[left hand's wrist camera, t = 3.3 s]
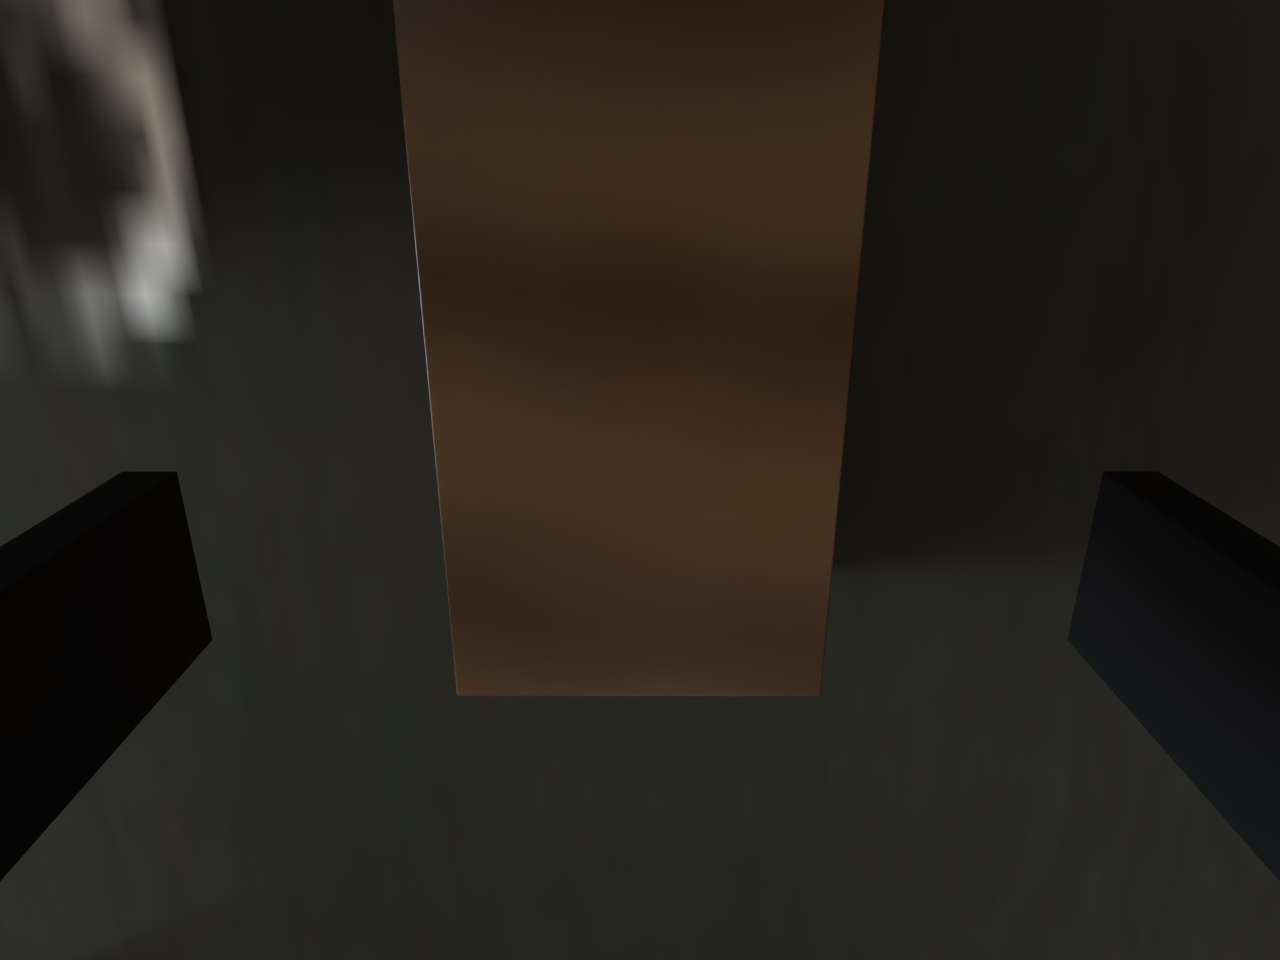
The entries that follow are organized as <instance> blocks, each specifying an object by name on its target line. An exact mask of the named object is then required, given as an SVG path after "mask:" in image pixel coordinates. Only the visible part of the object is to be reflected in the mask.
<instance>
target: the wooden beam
mask: <svg viewBox="0 0 1280 960" xmlns="http://www.w3.org/2000/svg"><path fill="white" fill-rule="evenodd" d="M392 3H393V14H394V24H395V35H396V46H397V56H398V67H399V78H400V89H401V99H402V110H403V121H404V131H405V142H406V153H407V164H408V174H409V185H410V196H411V206H412V217H413V228H414V239H415V249H416V260H417V271H418V281H419V292H420V303H421V314H422V324H423V335H424V346H425V357H426V367H427V378H428V389H429V399H430V410H431V421H432V432H433V442H434V453H435V464H436V474H437V485H438V496H439V507H440V517H441V528H442V539H443V549H444V560H445V571H446V582H447V592H448V603H449V614H450V624H451V635H452V646H453V657H454V667H455V678H456V689H457V695H458V696H820V695H821V686H822V675H823V665H824V654H825V643H826V632H827V621H828V610H829V599H830V589H831V578H832V567H833V556H834V545H835V534H836V523H837V513H838V502H839V491H840V480H841V469H842V458H843V448H844V437H845V426H846V415H847V404H848V393H849V382H850V372H851V361H852V350H853V339H854V328H855V317H856V307H857V296H858V285H859V274H860V263H861V252H862V241H863V231H864V220H865V209H866V198H867V187H868V176H869V165H870V155H871V144H872V133H873V122H874V111H875V100H876V90H877V79H878V68H879V57H880V46H881V35H882V24H883V14H884V3H885V0H392Z"/></svg>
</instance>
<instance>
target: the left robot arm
mask: <svg viewBox="0 0 1280 960" xmlns="http://www.w3.org/2000/svg"><path fill="white" fill-rule="evenodd" d="M211 641H212V636H211V631H210V626H209V622H208V617H207V612H206V608H205V603H204V598H203V593H202V589H201V584H200V579H199V575H198V570H197V565H196V560H195V556H194V551H193V546H192V542H191V537H190V532H189V527H188V523H187V518H186V513H185V509H184V504H183V499H182V494H181V490H180V485H179V480H178V476H177V472H121V473H120V474H118V475H116V476H115V477H113V478H112V479H110V480H108V481H107V482H105V483H103V484H102V485H100V486H99V487H97V488H95V489H94V490H92V491H90V492H89V493H87V494H86V495H84V496H82V497H81V498H79V499H77V500H76V501H74V502H73V503H71V504H69V505H68V506H66V507H64V508H63V509H61V510H60V511H58V512H56V513H55V514H53V515H51V516H50V517H48V518H47V519H45V520H43V521H42V522H40V523H38V524H37V525H35V526H34V527H32V528H30V529H29V530H27V531H25V532H24V533H22V534H21V535H19V536H17V537H16V538H14V539H12V540H11V541H9V542H8V543H6V544H4V545H3V546H1V547H0V881H1V880H2V879H3V878H4V876H5V875H6V874H7V873H8V872H9V871H10V870H11V868H12V867H13V866H14V865H15V864H16V863H17V862H18V860H19V859H20V858H21V857H22V856H23V855H24V854H25V853H26V851H27V850H28V849H29V848H30V847H31V846H32V845H33V843H34V842H35V841H36V840H37V839H38V838H39V837H40V835H41V834H42V833H43V832H44V831H45V830H46V829H47V827H48V826H49V825H50V824H51V823H52V822H53V821H54V820H55V818H56V817H57V816H58V815H59V814H60V813H61V812H62V810H63V809H64V808H65V807H66V806H67V805H68V804H69V802H70V801H71V800H72V799H73V798H74V797H75V796H76V794H77V793H78V792H79V791H80V790H81V789H82V788H83V787H84V785H85V784H86V783H87V782H88V781H89V780H90V779H91V777H92V776H93V775H94V774H95V773H96V772H97V771H98V769H99V768H100V767H101V766H102V765H103V764H104V763H105V761H106V760H107V759H108V758H109V757H110V756H111V755H112V753H113V752H114V751H115V750H116V749H117V748H118V747H119V746H120V744H121V743H122V742H123V741H124V740H125V739H126V738H127V736H128V735H129V734H130V733H131V732H132V731H133V730H134V728H135V727H136V726H137V725H138V724H139V723H140V722H141V720H142V719H143V718H144V717H145V716H146V715H147V714H148V713H149V711H150V710H151V709H152V708H153V707H154V706H155V705H156V703H157V702H158V701H159V700H160V699H161V698H162V697H163V695H164V694H165V693H166V692H167V691H168V690H169V689H170V687H171V686H172V685H173V684H174V683H175V682H176V681H177V680H178V678H179V677H180V676H181V675H182V674H183V673H184V672H185V670H186V669H187V668H188V667H189V666H190V665H191V664H192V662H193V661H194V660H195V659H196V658H197V657H198V656H199V654H200V653H201V652H202V651H203V650H204V649H205V648H206V647H207V645H208V644H209V643H210V642H211ZM1068 641H1069V642H1070V643H1071V644H1072V645H1073V647H1074V648H1075V649H1076V650H1077V651H1078V652H1079V653H1080V654H1081V656H1082V657H1083V658H1084V659H1085V660H1086V661H1087V662H1088V664H1089V665H1090V666H1091V667H1092V668H1093V669H1094V670H1095V672H1096V673H1097V674H1098V675H1099V676H1100V677H1101V678H1102V680H1103V681H1104V682H1105V683H1106V684H1107V685H1108V686H1109V687H1110V689H1111V690H1112V691H1113V692H1114V693H1115V694H1116V695H1117V697H1118V698H1119V699H1120V700H1121V701H1122V702H1123V703H1124V705H1125V706H1126V707H1127V708H1128V709H1129V710H1130V711H1131V713H1132V714H1133V715H1134V716H1135V717H1136V718H1137V719H1138V720H1139V722H1140V723H1141V724H1142V725H1143V726H1144V727H1145V728H1146V730H1147V731H1148V732H1149V733H1150V734H1151V735H1152V736H1153V738H1154V739H1155V740H1156V741H1157V742H1158V743H1159V744H1160V746H1161V747H1162V748H1163V749H1164V750H1165V751H1166V752H1167V754H1168V755H1169V756H1170V757H1171V758H1172V759H1173V760H1174V761H1175V763H1176V764H1177V765H1178V766H1179V767H1180V768H1181V769H1182V771H1183V772H1184V773H1185V774H1186V775H1187V776H1188V777H1189V779H1190V780H1191V781H1192V782H1193V783H1194V784H1195V785H1196V787H1197V788H1198V789H1199V790H1200V791H1201V792H1202V793H1203V794H1204V796H1205V797H1206V798H1207V799H1208V800H1209V801H1210V802H1211V804H1212V805H1213V806H1214V807H1215V808H1216V809H1217V810H1218V812H1219V813H1220V814H1221V815H1222V816H1223V817H1224V818H1225V820H1226V821H1227V822H1228V823H1229V824H1230V825H1231V826H1232V827H1233V829H1234V830H1235V831H1236V832H1237V833H1238V834H1239V835H1240V837H1241V838H1242V839H1243V840H1244V841H1245V842H1246V843H1247V845H1248V846H1249V847H1250V848H1251V849H1252V850H1253V851H1254V853H1255V854H1256V855H1257V856H1258V857H1259V858H1260V859H1261V860H1262V862H1263V863H1264V864H1265V865H1266V866H1267V867H1268V868H1269V870H1270V871H1271V872H1272V873H1273V874H1274V875H1275V876H1276V878H1277V879H1278V880H1279V881H1280V547H1279V546H1277V545H1276V544H1274V543H1272V542H1271V541H1269V540H1268V539H1266V538H1264V537H1263V536H1261V535H1259V534H1258V533H1256V532H1255V531H1253V530H1251V529H1250V528H1248V527H1246V526H1245V525H1243V524H1242V523H1240V522H1238V521H1237V520H1235V519H1233V518H1232V517H1230V516H1229V515H1227V514H1225V513H1224V512H1222V511H1220V510H1219V509H1217V508H1216V507H1214V506H1212V505H1211V504H1209V503H1207V502H1206V501H1204V500H1203V499H1201V498H1199V497H1198V496H1196V495H1194V494H1193V493H1191V492H1190V491H1188V490H1186V489H1185V488H1183V487H1181V486H1180V485H1178V484H1177V483H1175V482H1173V481H1172V480H1170V479H1168V478H1167V477H1165V476H1164V475H1162V474H1160V473H1159V472H1103V476H1102V480H1101V485H1100V490H1099V494H1098V499H1097V504H1096V509H1095V513H1094V518H1093V523H1092V527H1091V532H1090V537H1089V542H1088V546H1087V551H1086V556H1085V560H1084V565H1083V570H1082V575H1081V579H1080V584H1079V589H1078V593H1077V598H1076V603H1075V608H1074V612H1073V617H1072V622H1071V626H1070V631H1069V636H1068Z"/></svg>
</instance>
